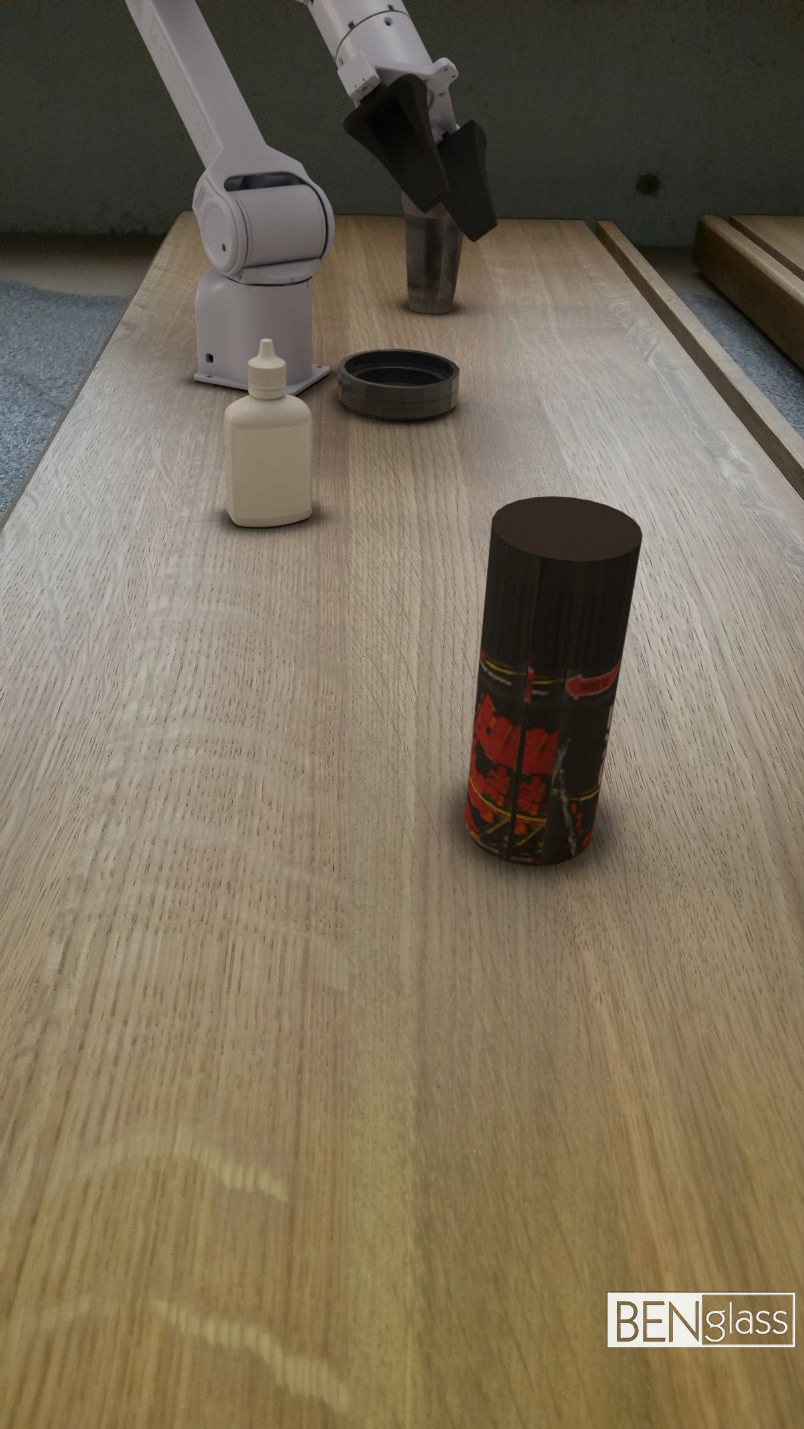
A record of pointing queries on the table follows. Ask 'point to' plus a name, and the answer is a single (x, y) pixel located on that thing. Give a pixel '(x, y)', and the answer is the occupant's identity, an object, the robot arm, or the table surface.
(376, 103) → the robot arm
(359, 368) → the dish
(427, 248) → the beverage cup
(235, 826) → the table surface
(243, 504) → the eye dropper bottle
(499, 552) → the deodorant
